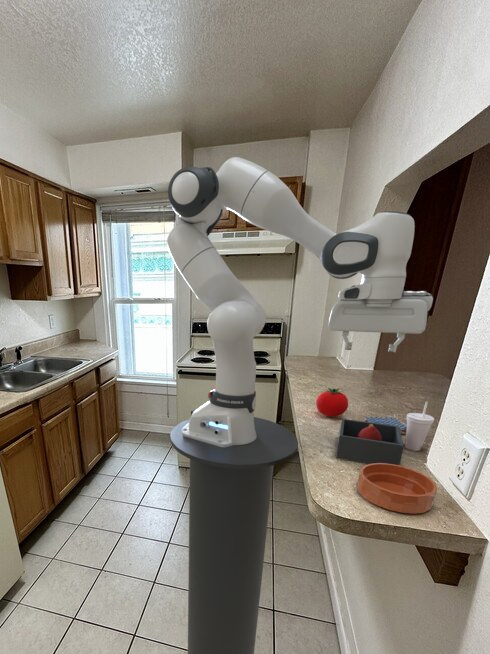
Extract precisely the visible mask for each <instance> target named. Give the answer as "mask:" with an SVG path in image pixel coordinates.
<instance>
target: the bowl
mask: <svg viewBox="0 0 490 654" xmlns="http://www.w3.org/2000/svg"><path fill="white" fill-rule="evenodd" d="M356 483H357V484H356V489H357V491H358V493H359V495H360V496H362V497H363V498H364V499H365V500H367V502H370V503H371V504H373V505H375V506H378V507H380V508H383V509H386V510H389V511H393V512H398V513H401V514H402V513H403V514H413V515H414V514H424V513H426V512H428V511H430V510H431V509H432V507H433V505H434V501H435V498H436V495H437V492H438V486H437V483H436V482H435V481H434V480H433V479H431V478H430V477H429V476H428V475H426V474H424V473H423V472H420V471H417V470H415V469H413V468H411V467H407V466H403V465H401V464H400V465H394V464H387V463H373V464H364V465H363V466H362V467H361V468H360V469H359V473H358V479H357V482H356Z"/></svg>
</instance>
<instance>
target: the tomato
mask: <svg viewBox="0 0 490 654" xmlns="http://www.w3.org/2000/svg"><path fill="white" fill-rule="evenodd" d="M327 389H328V390H326V389H324V391H323V392H320V394H319V395H318V396H317V398H316V400H315V402H316V403H315V407H316V409H317V410H318V412H319V413H320V414H321V415H323V416H325V417H330V418H335V417H339V416H342V415H343V414H344V413H345V412H346V411H347V410H348V407H349V399H348V397H347V396H346V395H345V394H344V393H343V392H341V391H339V390H340V388H329V387H327Z"/></svg>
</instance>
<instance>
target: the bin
mask: <svg viewBox="0 0 490 654" xmlns="http://www.w3.org/2000/svg"><path fill="white" fill-rule="evenodd" d="M369 424H372V425H373V426H374V427H375V428H376V429H377V430H378V431H379V432H380V434H381V437H382V441H377V440H370V439H364V438H357V436H358V434H359V432H360V431H361V430H362V429H364V428H366V427H369ZM404 448H405V443H404V440H403V437H402V433H401V432H400V429H399V426H393V425H386V424H378V423H371V422H365V421H364V420H356V419H350V418H349V419H347V418H341V422H340V427H339V433H338V438H337V446H336V453H335V459H340V460H345V461H351V462H355V463H360V464H361V463H362V464H366V465H368V464H373V463H387V464H394V465H400V466H401V461H402V457H403V454H404V453H403V452H404V450H405V449H404Z"/></svg>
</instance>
